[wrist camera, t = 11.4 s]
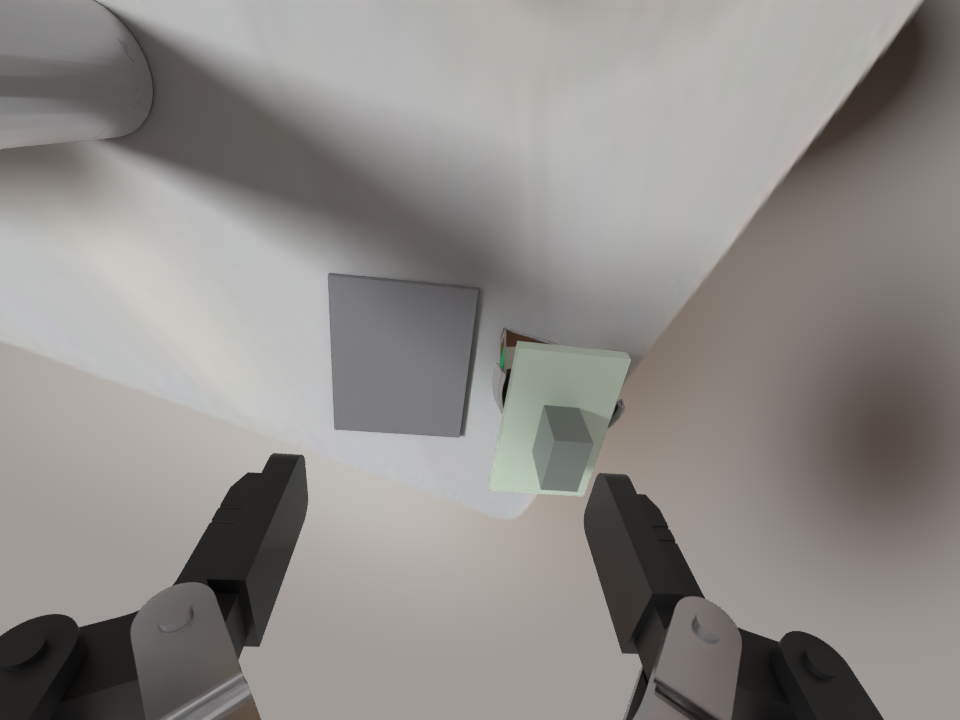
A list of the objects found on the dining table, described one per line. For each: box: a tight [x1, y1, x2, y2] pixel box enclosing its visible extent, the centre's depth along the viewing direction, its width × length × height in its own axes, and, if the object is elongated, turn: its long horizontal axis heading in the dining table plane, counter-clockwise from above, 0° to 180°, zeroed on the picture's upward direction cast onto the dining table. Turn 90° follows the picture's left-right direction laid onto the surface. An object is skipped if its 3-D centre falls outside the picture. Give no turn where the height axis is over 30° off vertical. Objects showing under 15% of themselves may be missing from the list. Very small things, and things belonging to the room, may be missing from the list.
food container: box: [493, 328, 625, 429], centre depth 44 cm, size 12×6×10 cm, turn 70°
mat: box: [328, 273, 478, 437], centre depth 47 cm, size 14×18×1 cm
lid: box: [489, 341, 631, 496], centre depth 37 cm, size 9×15×6 cm, turn 172°
